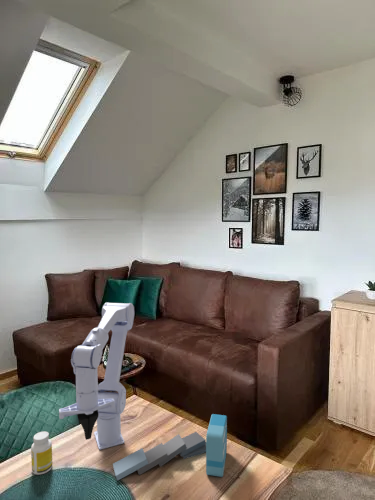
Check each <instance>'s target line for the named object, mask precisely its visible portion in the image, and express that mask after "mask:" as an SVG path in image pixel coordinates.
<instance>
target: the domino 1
mask: <svg viewBox="0 0 375 500" xmlns="http://www.w3.org/2000/svg"><path fill="white" fill-rule="evenodd" d="M163 444H164V443H162V442H160V443H159V444H157V445H156V446H153V447H152V448H150V449H149V450H146V451H144V453H145V456H146V459H147V461H148V464H147V465H145V466H143V467H142V468H140V469H138V470H136V471H137V473H138V475H139V476H140V475H142V474H144V473H146V472H147V471H149V470H150V469H153V468H154V467H156V466H159V463H161V462H163V461H164V460H166V459H168V455H167V452H166V450H165V448H164V446H163Z"/></svg>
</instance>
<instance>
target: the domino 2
mask: <svg viewBox="0 0 375 500" xmlns="http://www.w3.org/2000/svg"><path fill="white" fill-rule="evenodd" d="M182 438H183V437H182V436H181V435H180V434H179V433H178V434H176V435H175V436H174V437H172V438H171V439H169V440H168V441H167V442H165V443H162V444H163V446H164V448H165V450H166V452H167V455H168V459H166V460H164V461H163V462H161V463H159V464H158V466H159V467H162V466H164V465H165V464H166V463H168V462H169V461H171V460H172V459H174V458H175V457H176V456H178V455H179V453H181V452H182V451H183V450H185V449H186V448H187V447H186V445H185V443H184V441H183V440H182Z"/></svg>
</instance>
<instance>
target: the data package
mask: <svg viewBox="0 0 375 500" xmlns="http://www.w3.org/2000/svg"><path fill="white" fill-rule="evenodd" d="M208 423H209V424H208V427H207V431H206V436H205V437H206V438H205V440H206V452H205V466H206V467H205V472H206V475H207V476H213V477H220V478H223V476H224V471H225V465H226V457H227V449H228V448H227V447H228V440H227V439H228V435H227V434H228V425H227V424H228V416H227V415H224V414H223V415H222V414H216V413H215V414H214V413H212V414H211V416H210V420H209V422H208Z"/></svg>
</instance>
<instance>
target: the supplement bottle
mask: <svg viewBox="0 0 375 500" xmlns="http://www.w3.org/2000/svg"><path fill="white" fill-rule="evenodd" d="M32 440H33V443H32V444H31V447H30V454H31V456H30V457H31V458H30V459H31V471H32V473H33V474H34V475H44V474H46V473H48V472H49V471H50V470H51V469H52V467H53V444H52V440H51V439H50V433H49V432H48V431H43V430H42V431H39V432H37V433H35V434H34V435H33V439H32Z"/></svg>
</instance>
